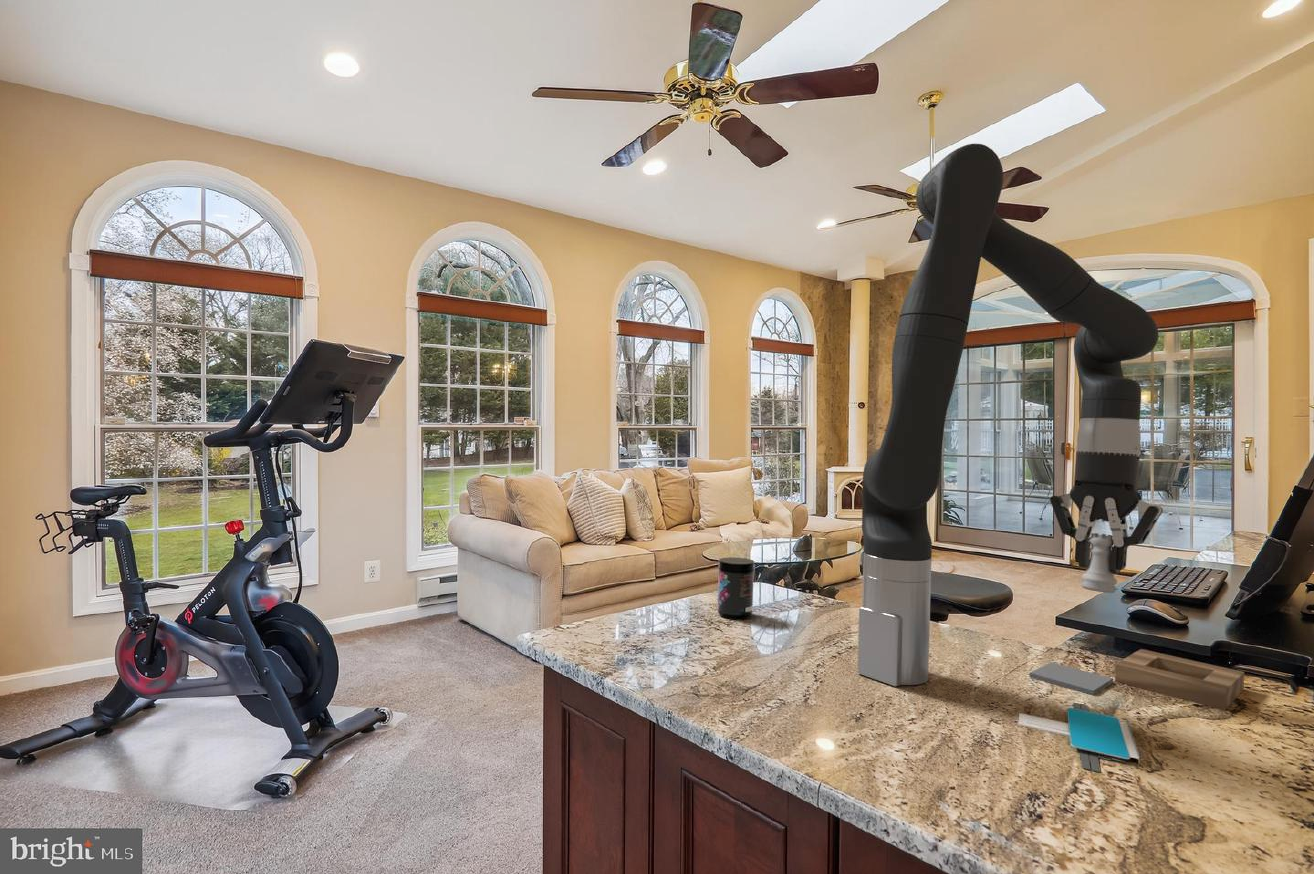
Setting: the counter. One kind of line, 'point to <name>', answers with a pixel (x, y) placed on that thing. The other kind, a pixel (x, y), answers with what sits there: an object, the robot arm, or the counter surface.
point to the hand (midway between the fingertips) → (1099, 569)
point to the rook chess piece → (1100, 565)
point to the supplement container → (735, 588)
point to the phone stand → (1090, 735)
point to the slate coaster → (1071, 678)
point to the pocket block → (1181, 678)
